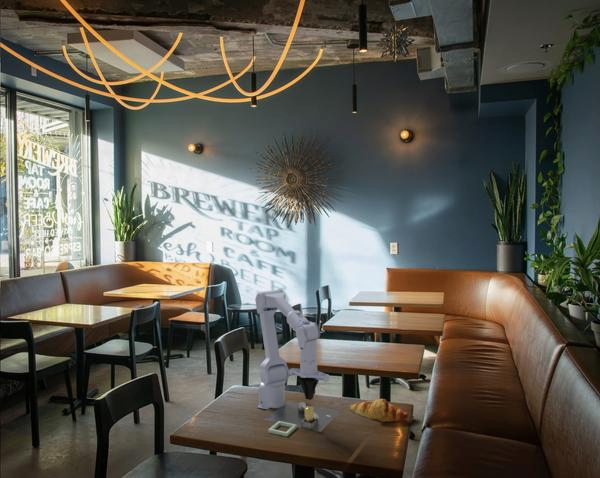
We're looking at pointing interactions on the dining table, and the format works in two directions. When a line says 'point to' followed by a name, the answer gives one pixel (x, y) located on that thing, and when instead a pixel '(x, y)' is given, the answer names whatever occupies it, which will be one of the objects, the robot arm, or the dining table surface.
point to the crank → (302, 409)
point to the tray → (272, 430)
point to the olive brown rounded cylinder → (309, 414)
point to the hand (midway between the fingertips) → (309, 398)
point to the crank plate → (303, 416)
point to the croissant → (379, 410)
